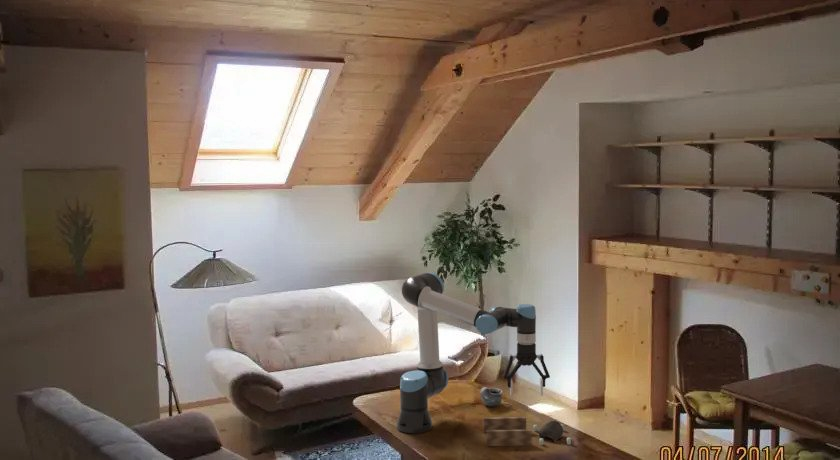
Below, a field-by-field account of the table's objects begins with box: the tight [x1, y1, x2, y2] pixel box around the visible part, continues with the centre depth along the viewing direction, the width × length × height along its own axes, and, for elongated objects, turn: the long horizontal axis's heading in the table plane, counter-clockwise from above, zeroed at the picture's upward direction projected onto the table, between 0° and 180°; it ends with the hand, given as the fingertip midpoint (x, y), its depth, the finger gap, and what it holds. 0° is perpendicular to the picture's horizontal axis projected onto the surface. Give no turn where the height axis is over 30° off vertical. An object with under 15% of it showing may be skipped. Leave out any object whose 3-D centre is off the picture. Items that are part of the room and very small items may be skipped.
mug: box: [479, 386, 503, 408], centre depth 348 cm, size 10×12×10 cm
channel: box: [482, 416, 533, 447], centre depth 309 cm, size 18×16×6 cm
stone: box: [538, 420, 564, 442], centre depth 309 cm, size 10×8×10 cm
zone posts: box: [533, 423, 572, 446], centre depth 309 cm, size 13×17×2 cm
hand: (526, 394), depth 307 cm, fingers open, 11 cm apart
